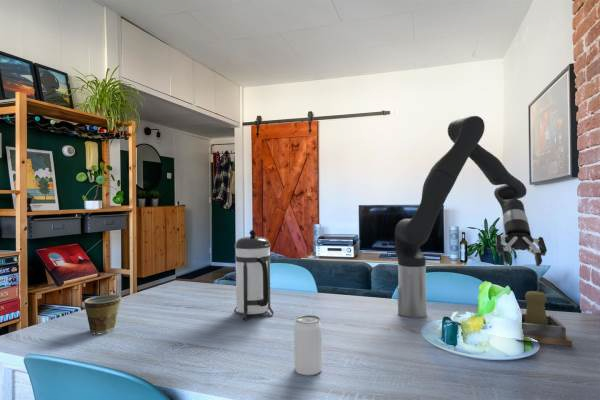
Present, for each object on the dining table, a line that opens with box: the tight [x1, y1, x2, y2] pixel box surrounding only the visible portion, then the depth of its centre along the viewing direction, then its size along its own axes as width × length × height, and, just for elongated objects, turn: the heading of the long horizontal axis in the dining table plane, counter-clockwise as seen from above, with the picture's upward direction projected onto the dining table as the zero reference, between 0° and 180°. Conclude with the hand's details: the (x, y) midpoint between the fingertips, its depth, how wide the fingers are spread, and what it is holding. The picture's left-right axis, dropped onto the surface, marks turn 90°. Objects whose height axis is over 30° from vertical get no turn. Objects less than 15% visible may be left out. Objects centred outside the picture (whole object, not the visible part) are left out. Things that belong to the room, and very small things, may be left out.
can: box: [293, 314, 323, 377], centre depth 83 cm, size 6×6×12 cm
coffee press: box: [233, 229, 275, 321], centre depth 125 cm, size 17×16×30 cm
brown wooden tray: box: [521, 312, 573, 347], centre depth 103 cm, size 13×13×4 cm
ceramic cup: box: [84, 294, 121, 335], centre depth 112 cm, size 13×10×10 cm
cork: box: [524, 290, 548, 325], centre depth 103 cm, size 6×6×11 cm
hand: (523, 263), depth 115 cm, fingers open, 8 cm apart
